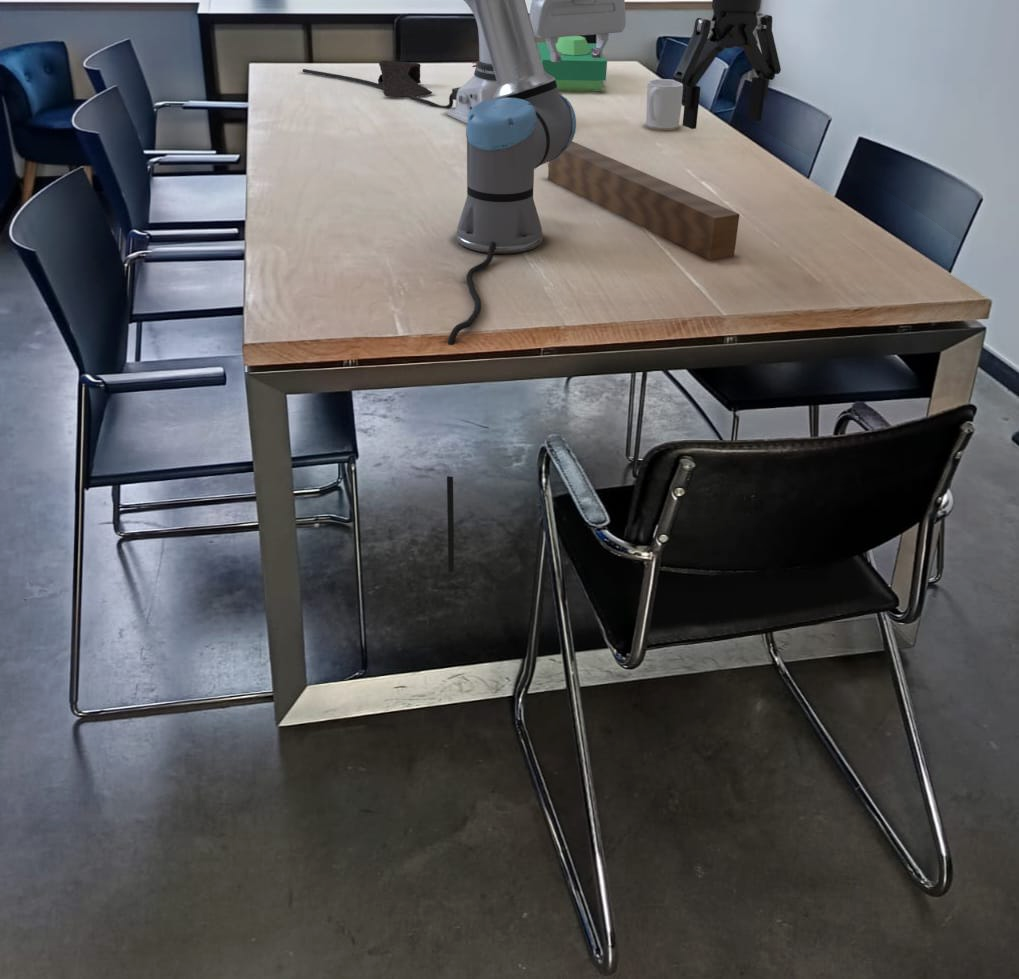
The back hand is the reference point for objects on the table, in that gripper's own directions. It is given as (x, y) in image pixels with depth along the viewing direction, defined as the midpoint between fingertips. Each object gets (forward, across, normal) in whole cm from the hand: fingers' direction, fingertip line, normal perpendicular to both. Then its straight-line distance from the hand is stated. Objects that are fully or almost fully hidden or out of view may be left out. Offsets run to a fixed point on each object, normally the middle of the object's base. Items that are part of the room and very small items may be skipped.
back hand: (576, 59), depth 215 cm
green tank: (+24, -54, -90) cm, 108 cm away
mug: (+24, -46, -32) cm, 61 cm away
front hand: (+2, 0, +46) cm, 46 cm away
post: (+24, 0, +23) cm, 33 cm away
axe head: (+24, -5, -96) cm, 99 cm away
